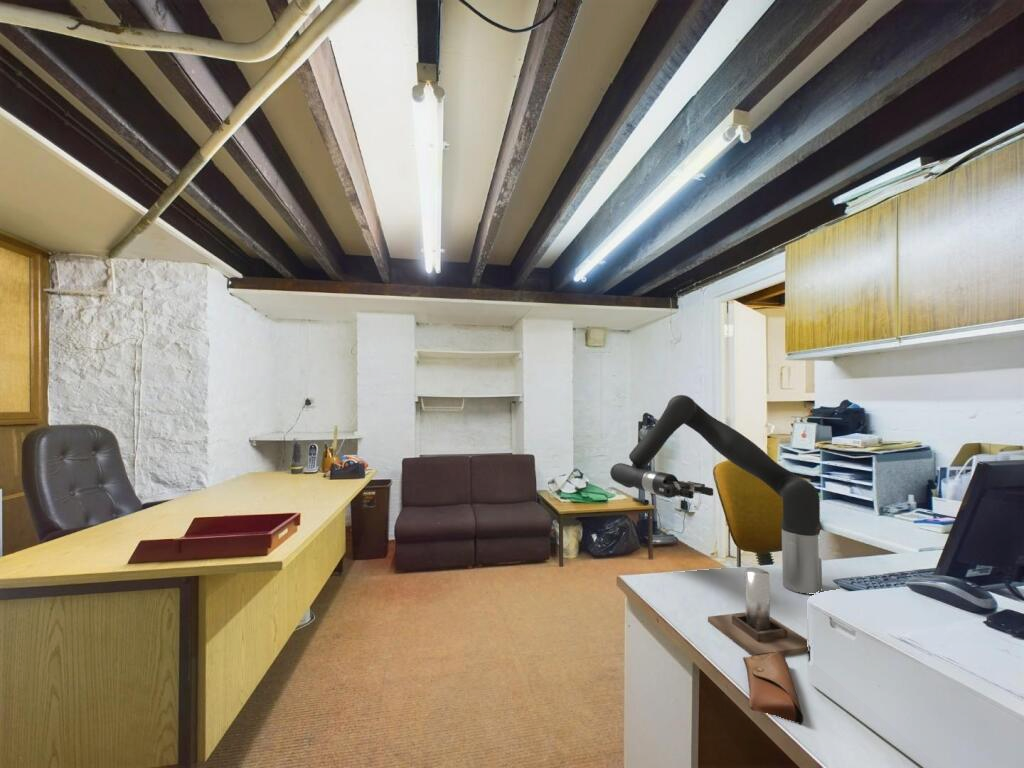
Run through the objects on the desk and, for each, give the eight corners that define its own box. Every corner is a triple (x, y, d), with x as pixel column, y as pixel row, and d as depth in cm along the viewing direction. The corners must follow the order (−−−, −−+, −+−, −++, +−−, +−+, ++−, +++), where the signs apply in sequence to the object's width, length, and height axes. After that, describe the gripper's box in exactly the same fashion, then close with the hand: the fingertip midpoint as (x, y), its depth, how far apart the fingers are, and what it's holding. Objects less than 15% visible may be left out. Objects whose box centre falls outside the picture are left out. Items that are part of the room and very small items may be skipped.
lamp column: (758, 623, 102) (757, 566, 103) (775, 634, 97) (774, 575, 98) (741, 625, 101) (740, 568, 102) (757, 637, 96) (756, 576, 97)
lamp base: (760, 615, 108) (760, 603, 109) (816, 651, 93) (816, 637, 93) (707, 621, 105) (707, 609, 105) (757, 659, 89) (756, 645, 90)
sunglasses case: (740, 654, 91) (757, 632, 90) (772, 679, 88) (790, 656, 87) (748, 709, 75) (770, 683, 74) (788, 741, 72) (811, 714, 71)
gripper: (643, 473, 130) (685, 482, 116) (674, 470, 137) (718, 478, 122) (643, 497, 130) (686, 509, 115) (675, 493, 136) (719, 503, 122)
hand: (702, 493), depth 119 cm, fingers open, 8 cm apart
